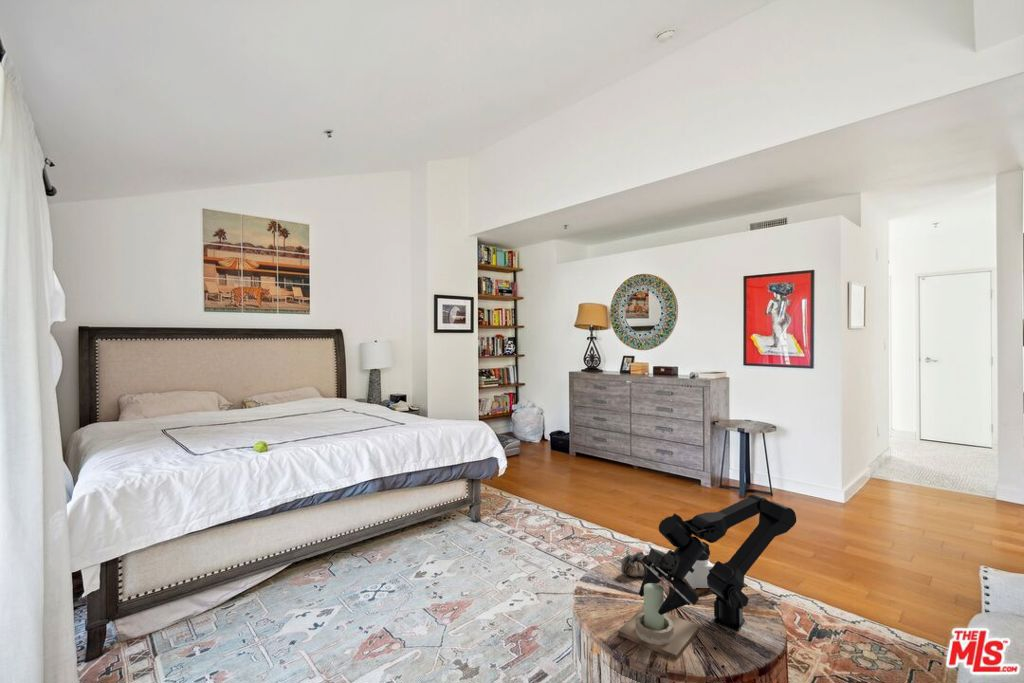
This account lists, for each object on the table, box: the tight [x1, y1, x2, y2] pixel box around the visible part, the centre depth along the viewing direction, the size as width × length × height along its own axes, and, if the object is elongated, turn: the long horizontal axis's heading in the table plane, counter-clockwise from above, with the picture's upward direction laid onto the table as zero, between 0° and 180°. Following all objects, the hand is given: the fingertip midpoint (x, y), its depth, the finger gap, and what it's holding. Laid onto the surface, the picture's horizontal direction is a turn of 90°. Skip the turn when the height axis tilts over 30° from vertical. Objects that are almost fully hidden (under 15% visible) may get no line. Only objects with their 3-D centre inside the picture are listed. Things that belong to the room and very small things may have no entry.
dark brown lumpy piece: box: [620, 551, 645, 578], centre depth 160 cm, size 12×7×10 cm
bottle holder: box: [617, 605, 701, 661], centre depth 129 cm, size 16×16×4 cm
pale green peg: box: [643, 583, 665, 631], centre depth 126 cm, size 5×5×12 cm
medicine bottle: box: [684, 552, 714, 590], centre depth 154 cm, size 7×7×12 cm
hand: (649, 604), depth 126 cm, fingers open, 9 cm apart
